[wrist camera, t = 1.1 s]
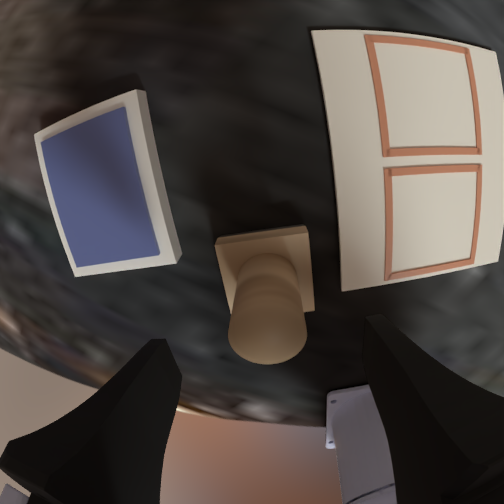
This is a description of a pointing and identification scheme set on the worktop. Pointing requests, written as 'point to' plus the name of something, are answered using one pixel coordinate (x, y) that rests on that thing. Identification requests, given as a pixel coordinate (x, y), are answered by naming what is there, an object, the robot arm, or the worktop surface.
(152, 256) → the ink pad
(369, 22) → the worktop surface
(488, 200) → the card sheet
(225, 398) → the worktop surface
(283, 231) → the stamp
